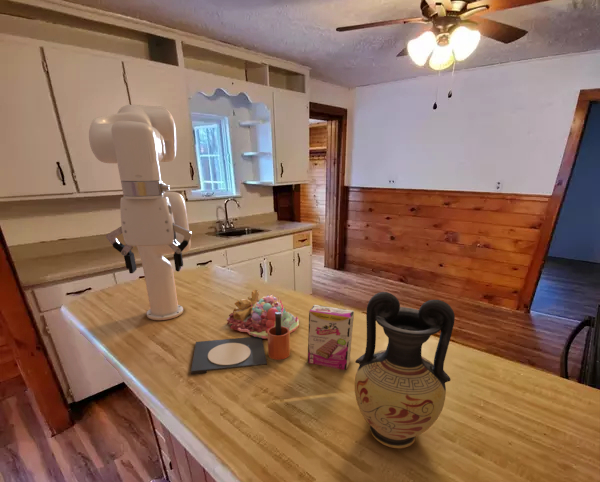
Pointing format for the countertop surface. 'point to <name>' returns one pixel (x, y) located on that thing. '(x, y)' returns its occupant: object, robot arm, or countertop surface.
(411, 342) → the amphora
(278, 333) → the marker pen
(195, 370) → the board
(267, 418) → the countertop surface
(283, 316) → the candy landscape model
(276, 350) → the pen pot
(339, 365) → the candy bar box
